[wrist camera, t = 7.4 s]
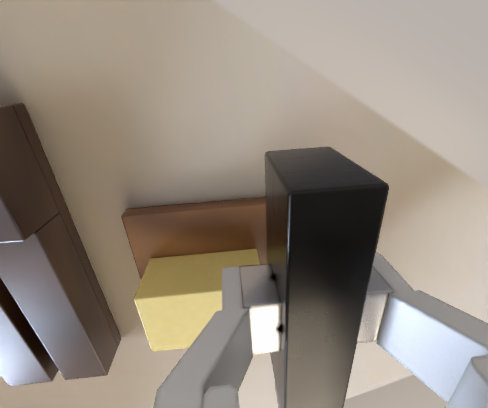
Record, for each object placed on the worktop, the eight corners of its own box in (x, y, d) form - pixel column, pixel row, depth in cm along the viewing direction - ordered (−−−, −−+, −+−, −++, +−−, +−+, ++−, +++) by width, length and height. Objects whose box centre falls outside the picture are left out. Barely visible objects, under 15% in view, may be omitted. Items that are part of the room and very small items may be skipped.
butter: (149, 258, 17) (133, 299, 14) (256, 248, 17) (264, 286, 14) (163, 306, 19) (151, 352, 16) (258, 297, 19) (265, 339, 16)
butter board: (126, 208, 16) (120, 216, 15) (342, 190, 17) (348, 196, 16) (163, 334, 22) (161, 345, 21) (326, 317, 22) (330, 327, 21)
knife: (252, 130, 10) (287, 193, 4) (300, 126, 10) (392, 184, 4) (263, 387, 17) (281, 525, 12) (290, 384, 17) (320, 519, 12)
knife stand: (-119, 112, 13) (-240, 125, 10) (24, 103, 13) (-44, 112, 10) (35, 347, 21) (0, 399, 18) (121, 338, 22) (102, 387, 18)
